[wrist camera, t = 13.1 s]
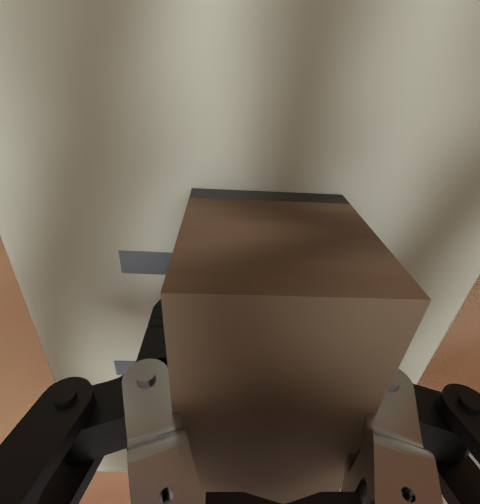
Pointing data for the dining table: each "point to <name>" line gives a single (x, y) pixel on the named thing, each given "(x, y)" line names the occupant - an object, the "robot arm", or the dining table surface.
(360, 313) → the block
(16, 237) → the board
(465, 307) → the dining table surface
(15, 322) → the dining table surface
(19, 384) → the dining table surface
